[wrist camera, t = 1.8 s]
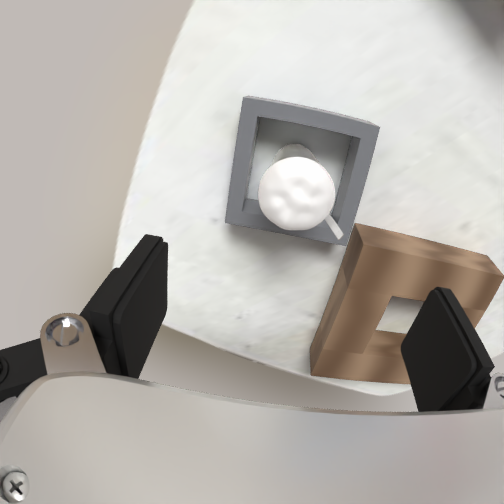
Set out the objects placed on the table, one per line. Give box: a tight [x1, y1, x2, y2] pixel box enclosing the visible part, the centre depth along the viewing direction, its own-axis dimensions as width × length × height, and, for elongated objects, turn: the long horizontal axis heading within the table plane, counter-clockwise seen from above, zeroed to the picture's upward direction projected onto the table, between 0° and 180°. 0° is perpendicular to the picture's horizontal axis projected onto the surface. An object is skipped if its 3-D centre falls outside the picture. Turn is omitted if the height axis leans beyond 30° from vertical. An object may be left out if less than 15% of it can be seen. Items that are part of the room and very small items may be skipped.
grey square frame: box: [225, 96, 380, 246], centre depth 25 cm, size 10×10×3 cm
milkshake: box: [258, 144, 344, 240], centre depth 22 cm, size 4×5×10 cm
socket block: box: [310, 223, 504, 384], centre depth 30 cm, size 16×16×4 cm
